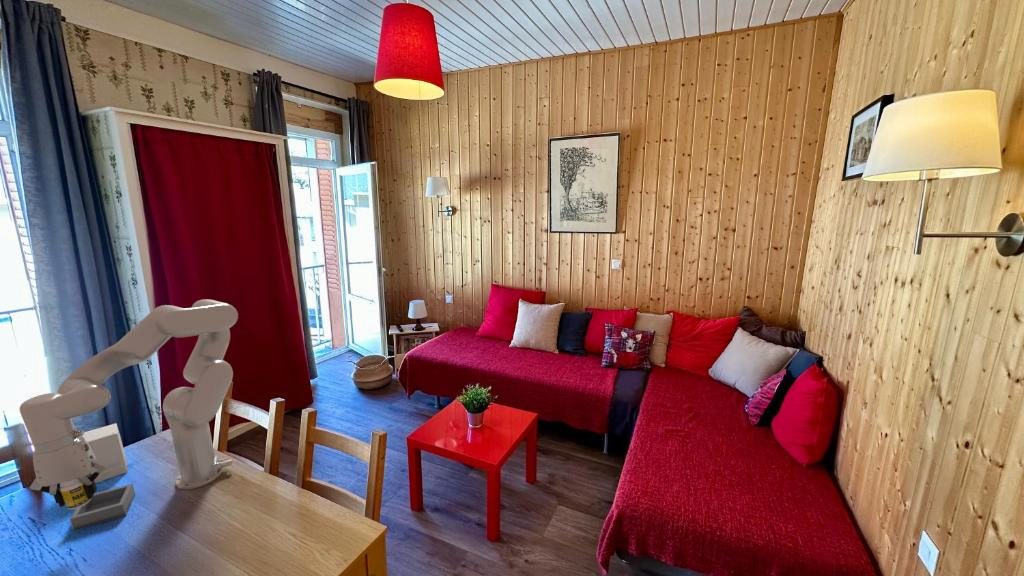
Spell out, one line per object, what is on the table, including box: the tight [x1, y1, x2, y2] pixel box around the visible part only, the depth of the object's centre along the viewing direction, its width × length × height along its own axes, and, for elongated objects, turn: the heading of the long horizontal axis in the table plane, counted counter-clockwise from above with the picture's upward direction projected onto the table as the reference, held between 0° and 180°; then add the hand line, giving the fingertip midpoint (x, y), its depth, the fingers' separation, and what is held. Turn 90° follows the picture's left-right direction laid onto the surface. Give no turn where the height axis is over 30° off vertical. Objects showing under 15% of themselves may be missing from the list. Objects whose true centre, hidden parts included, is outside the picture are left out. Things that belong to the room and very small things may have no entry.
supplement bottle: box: [60, 478, 91, 510], centre depth 110 cm, size 5×5×8 cm
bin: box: [69, 483, 136, 532], centre depth 121 cm, size 11×10×4 cm
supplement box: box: [82, 422, 128, 484], centre depth 137 cm, size 9×9×15 cm
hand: (78, 498), depth 110 cm, fingers closed on supplement bottle, 4 cm apart
